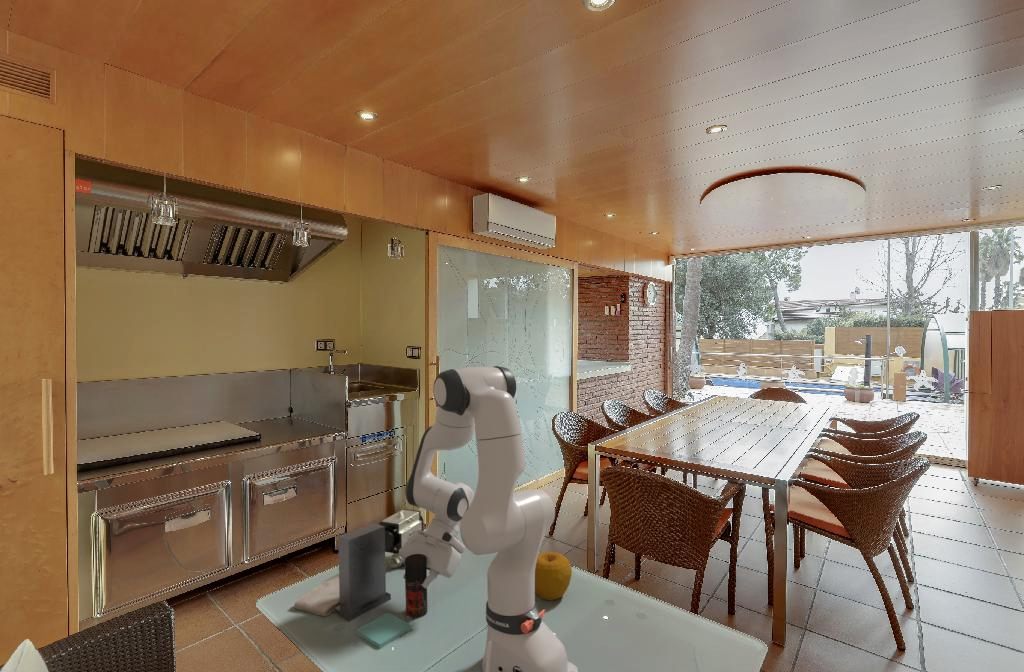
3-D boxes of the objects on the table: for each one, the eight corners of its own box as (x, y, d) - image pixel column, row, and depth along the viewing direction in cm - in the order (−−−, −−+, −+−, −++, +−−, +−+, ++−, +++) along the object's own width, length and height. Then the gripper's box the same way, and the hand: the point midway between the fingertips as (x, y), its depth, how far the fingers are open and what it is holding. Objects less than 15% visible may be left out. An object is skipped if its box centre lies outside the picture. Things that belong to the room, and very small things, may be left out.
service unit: (390, 599, 141) (389, 526, 142) (348, 621, 130) (347, 542, 131) (376, 592, 146) (375, 521, 146) (334, 613, 135) (333, 536, 135)
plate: (411, 629, 126) (411, 625, 126) (379, 648, 119) (379, 644, 119) (387, 616, 133) (387, 612, 133) (356, 634, 125) (356, 630, 125)
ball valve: (397, 577, 154) (396, 522, 155) (375, 573, 158) (374, 519, 158) (428, 554, 171) (427, 504, 171) (408, 551, 174) (407, 502, 174)
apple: (522, 587, 146) (522, 550, 147) (561, 580, 150) (560, 543, 151) (538, 609, 134) (537, 568, 134) (580, 601, 138) (579, 561, 138)
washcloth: (368, 588, 149) (368, 578, 149) (325, 619, 132) (325, 608, 132) (338, 581, 154) (338, 572, 154) (293, 611, 137) (293, 600, 137)
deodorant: (401, 612, 134) (400, 558, 134) (419, 604, 138) (418, 552, 139) (413, 621, 130) (412, 565, 130) (431, 612, 134) (430, 558, 134)
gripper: (410, 523, 146) (384, 567, 139) (458, 539, 134) (432, 589, 126) (421, 533, 150) (397, 577, 142) (469, 549, 137) (445, 599, 129)
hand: (414, 583), depth 134 cm, fingers closed on deodorant, 6 cm apart
